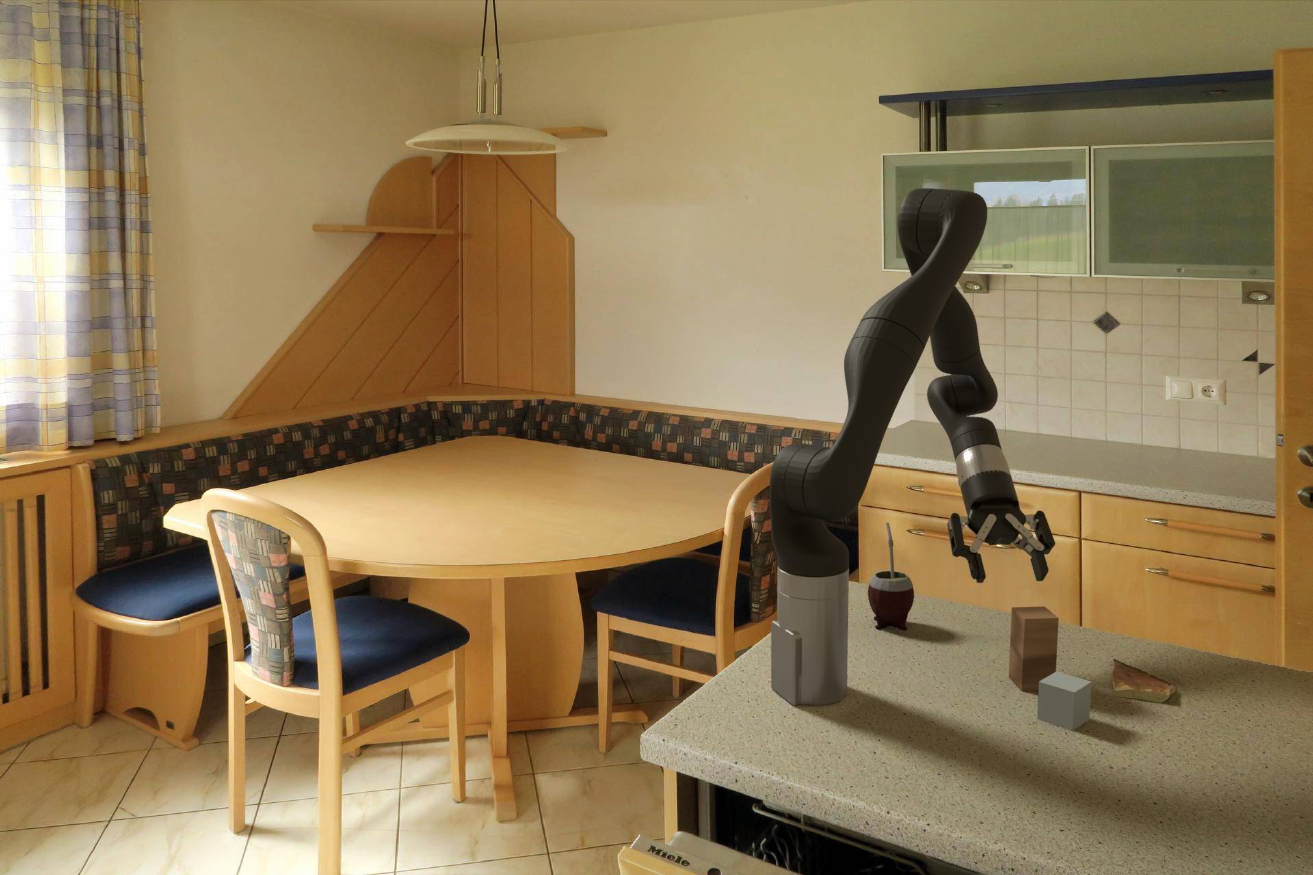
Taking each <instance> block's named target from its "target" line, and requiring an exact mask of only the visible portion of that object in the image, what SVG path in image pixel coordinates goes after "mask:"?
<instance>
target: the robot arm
mask: <svg viewBox="0 0 1313 875" xmlns="http://www.w3.org/2000/svg"><path fill="white" fill-rule="evenodd" d="M896 220H897V226H896V227H897V234H898V239H899V244H900V248H901V250H902V254H903V256H904V259H905V263H906V264H907V268H908V271H909V273H910V277H909V278H907V279H905V281H903V282H902V283H900V284H899V285H897V286H896V287H894V288H892V289H891V290H890V291H889V292H887V293H886V294H884V295H883V296H882V297H880V298H879V299H878V300H877V301H876V302H875V303H873V305H871V306H870V307H869V308H868V309H867V310H866V312H865V313H864V315H863V316H862V318H861V319H860V320H859V324H857V328H856V329H855V332H854V333H853V336H852V338H851V339H850V341H849V344H848V346H847V349H846V351H845V355H844V358H843V359H844V360H843V371H844V381H845V387H846V393H847V394H846V395H847V402H848V404H847V405H848V406H847V414H846V418H845V419H844V422H843V425H842V428H841V430H840V432H839V433H838V436H837V438H836V439H835V441H834V443H833V444H832V446H831V447H828V446H823V445H817V444H816V445H815V444H809V443H802V442H793V443H790V444H788V445H786V446H784V447H782V449H781V450H780V451H779V452H778V453H777V455H776V456H775V458H774V460H773V463H772V467H771V470H770V474H769V475H770V477H769V507H770V508H769V512H770V526H771V542H772V545H773V548H774V551H775V553H776V557H777V558H776V560H777V588H776V589H777V592H776V593H777V595H776V596H777V605H776V606H777V609H776V610H777V612H776V613H777V616H776V617H777V619H775V620H772V621H771V623H770V624H771V625H770V626H771V627H770V638H771V639H770V641H771V642H770V652H771V653H770V661H771V663H770V670H771V671H770V674H771V675H770V678H771V679H770V688H771V689H772V690H773V691H774V692H776V693H777V694H778V695H779V696H781V697H782V698H783V699H785V700H786V701H787V702H789V704H791V705H794V706H796V705H797V706H798V705H812V706H816V705H818V706H819V705H820V706H823V705H829V704H834V703H837V702H839V701H841V700H843V699H844V698H845V697H846V696H847V694H848V656H849V655H848V653H849V652H848V651H849V650H848V649H849V648H848V647H849V593H850V592H849V588H850V587H849V586H850V583H849V582H850V578H849V576H850V554H849V553H850V552H849V549H848V547H847V545H846V543H845V542H843V540H841V539H839V538H838V537H837V536H836V535H834V534H833V533H832V531H830V530H829V528H827V526H826V525H825V523H824V521H826V522H827V521H828V522H831V523H832V522H834V523H835V522H841V521H843V520H845V519H847V518H849V516H850V515H852V514H853V513H854V511H855V509H856V508H857V507H858V505H859V503H860V501H861V500H862V497H863V495H864V492H865V490H866V489H867V486H868V483H869V480H870V478H871V474H872V471H873V468H874V465H875V463H876V459H877V457H878V454H879V452H880V448H881V446H882V443H883V441H884V438H885V435H886V432H887V429H888V427H889V424H890V422H891V420H892V418H893V416H894V413H895V411H896V409H897V407H898V404H899V403H900V400H901V398H902V395H903V393H904V392H905V389H906V388H907V384H908V383H909V381H910V379H911V377H912V376H913V374H914V372H915V369H916V367H917V365H918V363H919V361H920V359H921V357H922V355H923V352H924V351H925V348H926V346H927V343H928V341H929V340H930V346H931V353H932V358H933V363H934V366H935V367H936V369H937V370H939V371H940V372H941V373H943V374H945V375H942V376H938V377H935V378H934V379H933V380H931V382H930V383H929V385H928V387H927V390H926V391H927V392H926V398H927V399H926V400H927V403H928V405H929V407H930V409H931V412H932V413H933V415H934V416H935V418H936V419H937V420H938V422H939V423H940V425H941V426H942V428H943V429H944V432H945V434H946V435H947V437H948V440H949V441H950V442H949V443H950V445H951V449H952V454H953V457H954V462H955V465H956V466H955V468H956V476H957V484H958V486H959V488H960V493H961V496H962V500H963V504H964V507H965V511H966V516H960V515H959V513H957V512H952V513H951V514H950V517H949V518H948V521H947V524H946V525H947V530H948V538H949V544H950V548H951V554H952V556H953V557H955V558H958V557H962V558H965V560H966V561H967V564H968V569H969V572H970V576H971V578H972V579H973V580H976V583H977V584H983V583H984V582H985V580H986V577H987V575H986V570H985V567H984V564H983V563H984V562H983V559H982V555H981V553H979V550H980V549H981V547H982V545H983V544H984V543H986V544H988V545H989V546H996V545H1003V546H1004V545H1005V546H1007V545H1009V546H1010V545H1011V544H1012V545H1014V547H1016V548H1017V549H1018V550H1020V551H1021V550H1023V551H1024V552H1025V553H1026V554H1027V555H1028V556H1030V559H1029V560H1030V562H1031V566H1032V570H1033V574H1034V577H1035V580H1036V582H1043V581H1044V580H1045V579H1046V577H1047V575H1048V574H1049V566H1048V563H1047V559H1046V556H1045V555H1049V554H1050V553H1051V551H1052V549H1053V548H1054V547H1055V546H1056V541H1055V538H1054V536H1053V533H1052V530H1051V527H1050V525H1049V522H1048V519H1047V517H1046V514H1045V511H1043V510H1040V509H1039V510H1037V511H1036V512H1035V513H1033V514H1025V513H1024V512H1023V511H1022V510H1021V508H1020V507H1021V506H1020V503H1019V498H1018V495H1017V492H1016V486H1015V484H1014V481H1013V478H1012V473H1011V470H1010V467H1009V464H1008V461H1007V458H1006V456H1005V455H1004V451H1003V448H1002V446H1001V445H1002V444H1001V442H1000V437H999V434H998V432H997V428H996V425H995V424H994V422H993V421H992V420H990V418H989V419H988V418H986V417H982V416H975V415H979V414H985V413H988V412H990V411H992V409H994V408H995V406H996V404H997V402H998V398H999V392H998V388H997V385H996V383H995V381H994V378H993V377H992V375H991V372H990V371H989V369H988V368H987V366H986V364H985V361H984V359H983V356H982V352H981V347H980V339H979V331H978V330H979V329H978V324H977V319H976V316H975V313H974V311H973V309H972V308H971V306H970V304H969V302H968V301H967V299H966V298H965V297H964V295H963V294H962V293H961V291H960V290H959V289H958V288H957V287H956V285H957V283H958V282H959V280H960V278H961V276H962V275H963V274H964V272H965V270H966V268H968V265H969V264H970V262H971V260H972V259H973V256H974V255H975V253H976V251H977V249H978V248H979V246H980V243H981V241H982V238H983V237H984V236H983V235H984V233H985V231H986V230H985V229H986V225H987V222H988V221H987V220H988V206H987V202H986V200H985V198H984V197H983V196H981V195H980V194H979V193H977V192H974V191H969V190H961V189H959V190H958V189H950V188H949V189H947V188H945V189H944V188H932V187H931V188H930V187H929V188H927V187H925V188H922V187H921V188H915V189H913V190H910V191H909V192H908V193H907V194H906V195H905V196H904V198H903V199H902V201H901V203H900V206H899V209H898V214H897V219H896ZM946 374H947V375H946ZM1025 524H1026V525H1027V526H1029V528H1030V530H1032V531H1033V532H1034V534H1033V532H1032V531H1030V530H1029V529H1028V528H1027V527H1026V526H1025ZM966 527H967V528H968V529H969V530H970V531H972V532H973V534H975V538H974V540H973V541H972V543H971V544H970V545H967V544H965V540H964V534H963V531H964V528H966ZM1019 535H1020V536H1021V538H1020V537H1019ZM1034 535H1035V537H1036V538H1035V537H1034Z"/></svg>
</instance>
